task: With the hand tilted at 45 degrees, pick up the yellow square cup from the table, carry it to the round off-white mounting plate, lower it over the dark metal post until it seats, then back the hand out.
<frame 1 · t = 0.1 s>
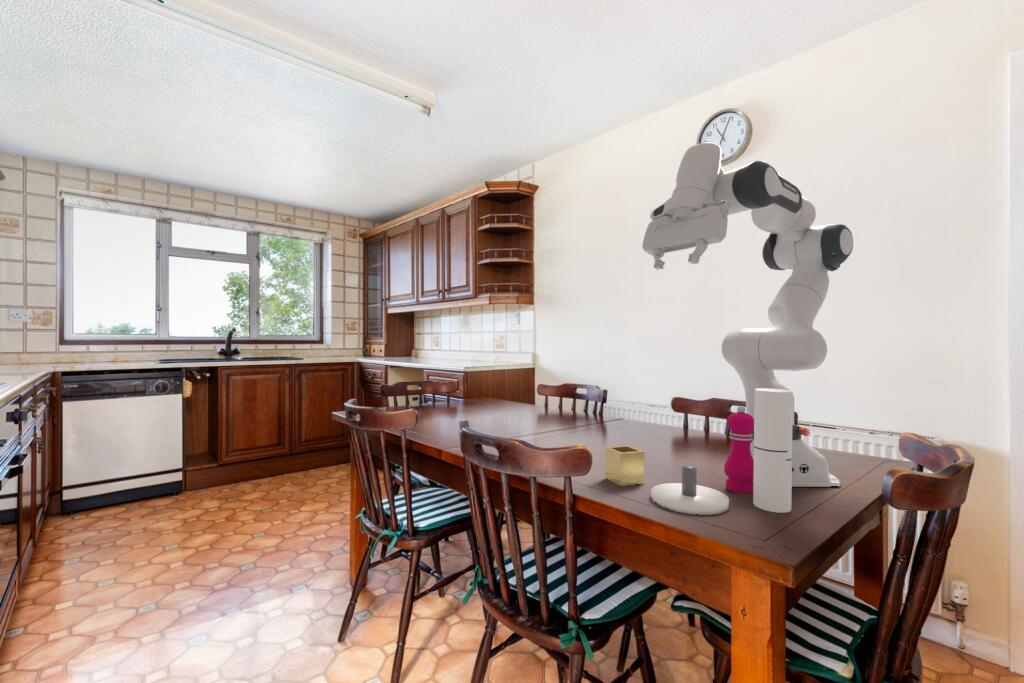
hand: (674, 265, 102), 52 cm above the table, tool tilted 20°, fingers open, 8 cm apart
yellow square cup: (624, 481, 116), on the table
mounting plate: (688, 501, 102), on the table
cylindrical container: (771, 507, 99), on the table
pepper mill: (740, 490, 110), on the table
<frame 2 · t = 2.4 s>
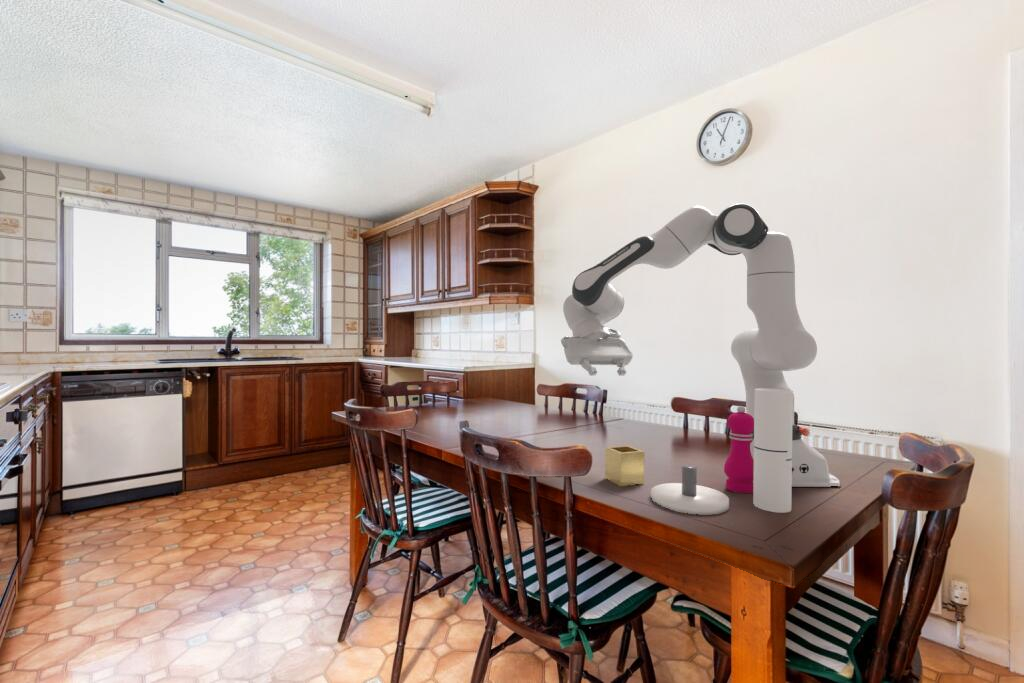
hand: (608, 374, 126), 26 cm above the table, tool tilted 45°, fingers open, 8 cm apart
nothing on the table moved.
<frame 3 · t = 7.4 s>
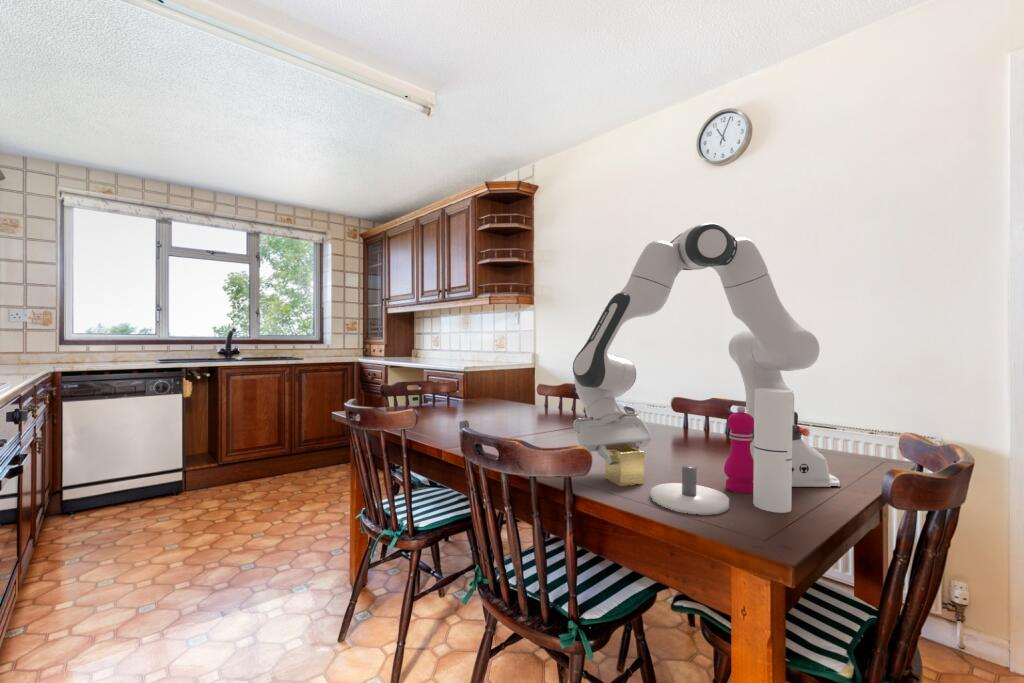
hand: (626, 462, 115), 5 cm above the table, tool tilted 45°, fingers closed on yellow square cup, 7 cm apart
yellow square cup: (624, 481, 116), on the table, touching gripper
everything else where it was.
when the fingers open (8 cm above the table, at t = 13.8 s): yellow square cup drops 1 cm, resting on mounting plate.
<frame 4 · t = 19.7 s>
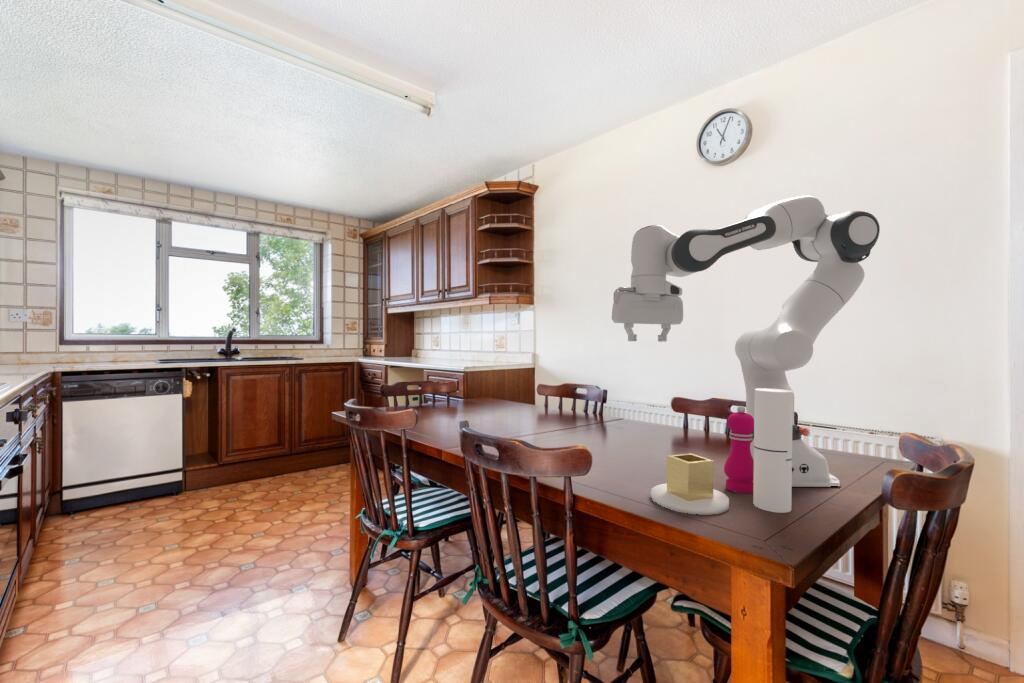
hand: (647, 341, 121), 35 cm above the table, tool pointing down, fingers open, 8 cm apart
yellow square cup: (689, 494, 102), point 1 cm above the table, touching mounting plate
everything else where it was.
at the end: yellow square cup 0.1 cm off-centre on the mounting plate, point 1.5 cm above the mounting plate's base; yellow square cup tilted 0°; the gripper is holding nothing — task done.
